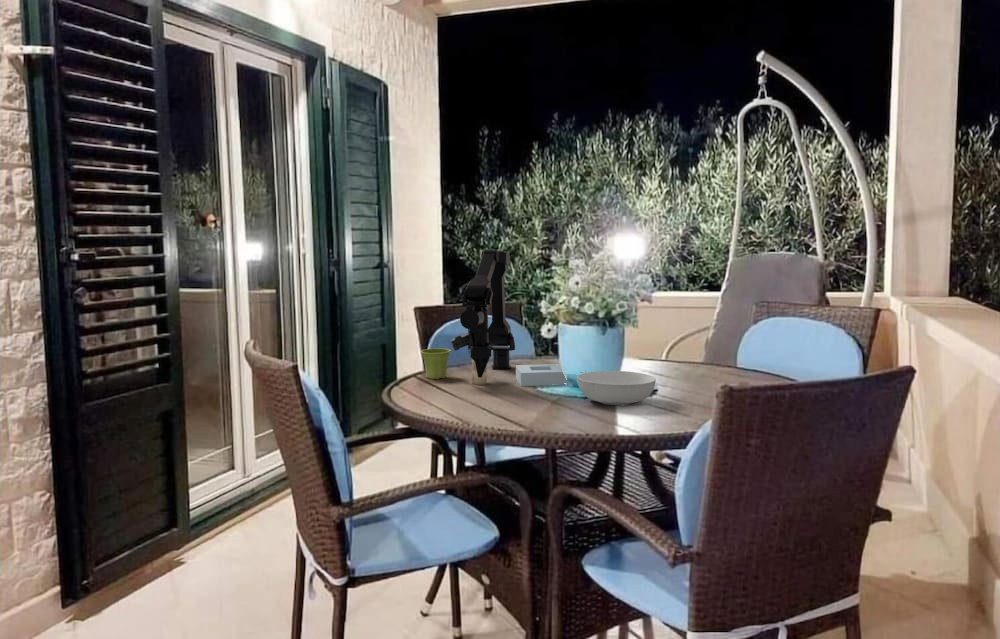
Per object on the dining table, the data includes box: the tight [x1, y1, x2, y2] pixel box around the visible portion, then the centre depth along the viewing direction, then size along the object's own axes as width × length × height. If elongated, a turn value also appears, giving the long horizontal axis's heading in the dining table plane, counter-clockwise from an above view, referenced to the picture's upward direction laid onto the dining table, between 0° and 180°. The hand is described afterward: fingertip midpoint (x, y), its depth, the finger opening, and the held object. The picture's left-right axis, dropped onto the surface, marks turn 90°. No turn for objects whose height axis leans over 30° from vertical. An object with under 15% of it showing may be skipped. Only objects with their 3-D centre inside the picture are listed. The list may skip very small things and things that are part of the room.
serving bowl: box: [576, 370, 657, 406], centre depth 214 cm, size 21×21×7 cm
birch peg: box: [471, 358, 488, 386], centre depth 242 cm, size 4×4×8 cm
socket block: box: [515, 363, 568, 387], centre depth 245 cm, size 14×14×4 cm
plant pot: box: [420, 347, 452, 380], centre depth 253 cm, size 9×9×9 cm
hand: (479, 376), depth 242 cm, fingers closed on birch peg, 4 cm apart
